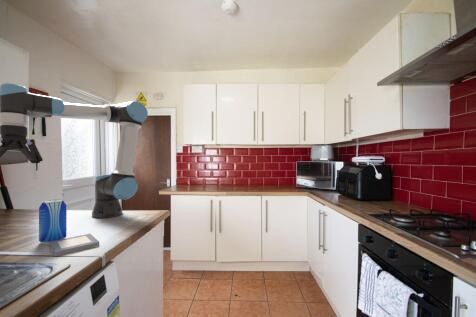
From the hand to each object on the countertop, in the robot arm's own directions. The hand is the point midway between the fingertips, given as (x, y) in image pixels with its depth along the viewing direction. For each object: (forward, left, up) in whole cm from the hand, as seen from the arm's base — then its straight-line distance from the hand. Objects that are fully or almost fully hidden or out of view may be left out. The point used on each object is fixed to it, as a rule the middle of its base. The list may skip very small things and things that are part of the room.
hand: (14, 180), depth 88 cm
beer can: (-11, +9, -24) cm, 28 cm away
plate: (-16, +20, -24) cm, 35 cm away
